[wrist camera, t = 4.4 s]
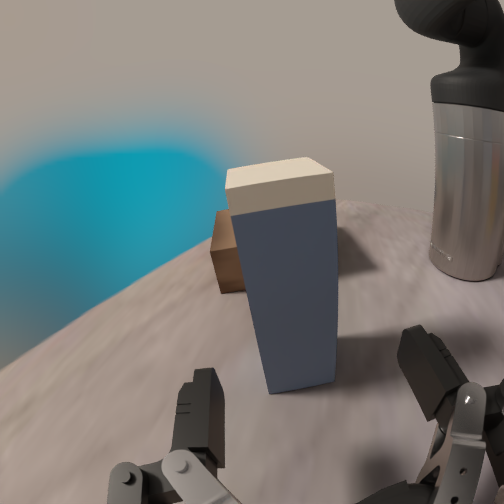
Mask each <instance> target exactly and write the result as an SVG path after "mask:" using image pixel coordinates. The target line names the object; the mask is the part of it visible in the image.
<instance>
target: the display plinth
mask: <svg viewBox="0 0 504 504" xmlns="http://www.w3.org/2000/svg"><path fill="white" fill-rule="evenodd" d="M210 253H211V257H212V261H213V265H214V269H215V273H216V276H217V280H218V284H219V288H220V291H221V294H222V293H228V292H234V291H240V290H246V288H245V283H244V278H243V274H242V269H241V264H240V259H239V255H238V250H237V245H236V240H235V235H234V231H233V226H232V221H231V216H230V211H229V209H228V210H222V211H217V213H216V220H215V225H214V231H213V236H212V242H211V248H210Z"/></svg>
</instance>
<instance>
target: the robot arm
mask: <svg viewBox="0 0 504 504" xmlns="http://www.w3.org/2000/svg"><path fill="white" fill-rule="evenodd" d="M394 1H395V6H396V10H397V12H398V14H399V16H400V18H401V19H402V20H403V22H404V23H405V24H406V25H407V26H408V27H409V28H410V29H412V30H413V31H414V32H416V33H418V34H421V35H423V36H426V37H429V38H432V39H435V40H439V41H445V42H449V43H453V44H458V45H459V49H460V65H459V66H458V67H457V68H456V69H455V70H453V71H450V72H447V73H443V74H439V75H436V76H434V77H433V78H432V80H431V95H432V102H434V103H433V104H432V105H433V116H434V130H435V195H434V211H433V223H432V233H431V241H430V249H429V257H430V259H431V261H432V263H433V264H434V265H435V266H436V267H437V268H438V269H440V270H441V271H443V272H444V273H446V274H448V275H451V276H453V277H456V278H459V279H463V280H470V281H479V280H485V279H487V278H490V277H491V276H492V275H493V274H494V273H495V271H496V268H497V266H498V265H500V264H501V262H502V258H503V254H504V13H503V10H502V8H501V5H500V3H499V1H498V0H394ZM397 359H398V363H399V366H400V368H401V369H402V371H403V373H404V375H405V377H406V379H407V381H408V383H409V385H410V387H411V389H412V391H413V393H414V395H415V397H416V399H417V401H418V403H419V405H420V407H421V409H422V411H423V413H424V415H425V417H426V420H427V422H428V421H430V420H433V419H435V418H436V420H437V422H438V423H437V425H436V428H435V432H434V436H433V439H432V443H431V446H430V449H429V453H428V456H427V459H426V462H425V464H424V466H423V467H422V469H421V471H420V473H419V475H418V477H417V479H416V482H415V483H413V484H407V481H406V480H405V481H402V482H400V483H397V484H395V485H392V486H389V487H387V488H384V489H381V490H379V491H378V492H376V493H374V494H372V495H371V496H369V497H367V498H365V499H364V500H362V501H360V502H358V503H356V504H472V502H473V499H474V495H475V492H476V488H477V485H478V481H479V477H480V473H481V469H482V464H483V459H484V454H485V450H486V452H487V455H488V458H489V460H490V463H491V466H492V468H493V471H494V474H495V477H496V480H497V483H498V486H499V490H498V492H497V495H496V497H495V499H494V504H504V379H503V380H502V382H501V383H500V385H495V386H490V387H482V386H481V385H479V384H477V383H474V382H469V380H468V379H467V378H466V376H465V375H464V373H463V371H462V370H461V368H460V367H459V365H458V364H457V362H456V361H455V359H454V358H453V356H451V353H450V352H449V350H448V349H446V346H445V345H444V343H443V342H442V340H441V339H440V338H438V337H437V336H435V335H434V334H433V333H429V334H427V332H426V331H425V330H424V328H423V327H422V326H421V325H416V326H413V327H410V328H407V329H404V330H403V332H402V336H401V341H400V345H399V349H398V353H397ZM217 468H225V399H224V392H223V388H222V386H221V384H220V381H219V379H218V376H217V374H216V372H215V369H214V368H203V369H195V371H194V377H193V382H188V383H184V385H183V386H182V388H181V390H180V391H179V393H178V400H177V407H176V415H175V423H174V431H173V439H172V447H171V450H170V452H169V453H168V454H167V455H166V456H165V458H164V459H162V460H160V461H158V462H155V463H151V464H147V465H142V466H136V465H135V464H133V463H130V462H122V463H119V464H117V465H116V466H115V467H114V468H113V469H112V471H111V473H110V479H109V488H108V497H107V504H172V503H177V502H181V501H184V502H185V503H186V504H242V503H241V502H240V501H239V500H238V499H237V498H236V497H235V496H234V495H233V494H232V493H231V492H230V491H229V490H228V489H227V488H226V487H225V486H224V485H223V484H222V483H221V482H220V481H219V480H218V479H217Z"/></svg>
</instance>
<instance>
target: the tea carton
mask: <svg viewBox="0 0 504 504" xmlns="http://www.w3.org/2000/svg"><path fill="white" fill-rule="evenodd" d="M225 191H226V196H227V201H228V206H229V211H230V216H231V221H232V226H233V231H234V235H235V240H236V245H237V250H238V255H239V259H240V264H241V269H242V274H243V278H244V283H245V288H246V292H247V297H248V302H249V306H250V311H251V315H252V320H253V325H254V329H255V334H256V338H257V343H258V347H259V352H260V356H261V361H262V365H263V370H264V374H265V378H266V383H267V387H268V392H269V394H273V393H279V392H285V391H291V390H296V389H302V388H307V387H312V386H316V385H321V384H326V383H330V382H334V381H335V369H336V352H337V328H338V243H337V219H336V201H335V188H334V175H333V172H332V171H330V170H328V169H327V168H325V167H324V166H322V165H320V164H319V163H317V162H315V161H314V160H312V159H310V158H309V157H303V158H295V159H288V160H281V161H274V162H268V163H261V164H256V165H249V166H243V167H238V168H233V169H228V171H227V179H226V186H225Z"/></svg>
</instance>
